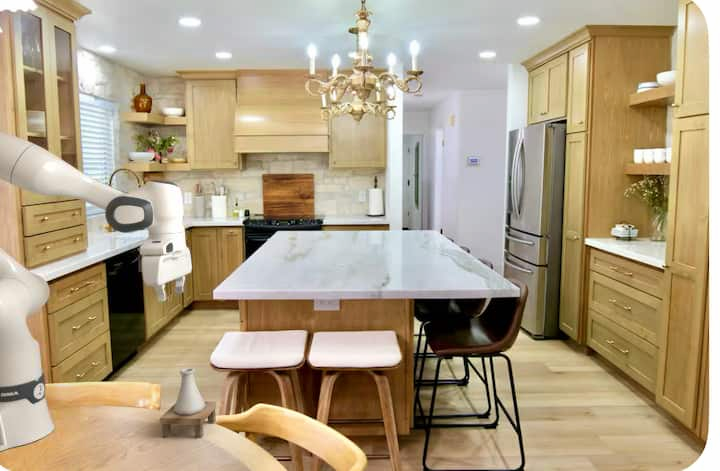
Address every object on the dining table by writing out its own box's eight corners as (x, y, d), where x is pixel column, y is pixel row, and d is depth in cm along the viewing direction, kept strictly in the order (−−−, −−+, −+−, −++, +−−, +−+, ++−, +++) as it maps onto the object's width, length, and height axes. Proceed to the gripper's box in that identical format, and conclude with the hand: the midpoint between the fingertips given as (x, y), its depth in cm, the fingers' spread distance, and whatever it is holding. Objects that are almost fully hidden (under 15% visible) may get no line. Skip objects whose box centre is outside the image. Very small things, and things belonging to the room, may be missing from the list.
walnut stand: (161, 438, 131) (159, 417, 130) (179, 419, 140) (178, 400, 140) (201, 439, 129) (200, 418, 129) (217, 420, 139) (216, 401, 139)
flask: (167, 413, 133) (164, 373, 132) (188, 401, 139) (186, 363, 138) (191, 417, 130) (188, 376, 129) (211, 406, 136) (209, 366, 135)
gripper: (173, 239, 151) (177, 289, 152) (135, 249, 130) (139, 306, 132) (196, 238, 150) (199, 288, 151) (160, 248, 130) (164, 305, 131)
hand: (171, 297), depth 141 cm, fingers open, 8 cm apart
